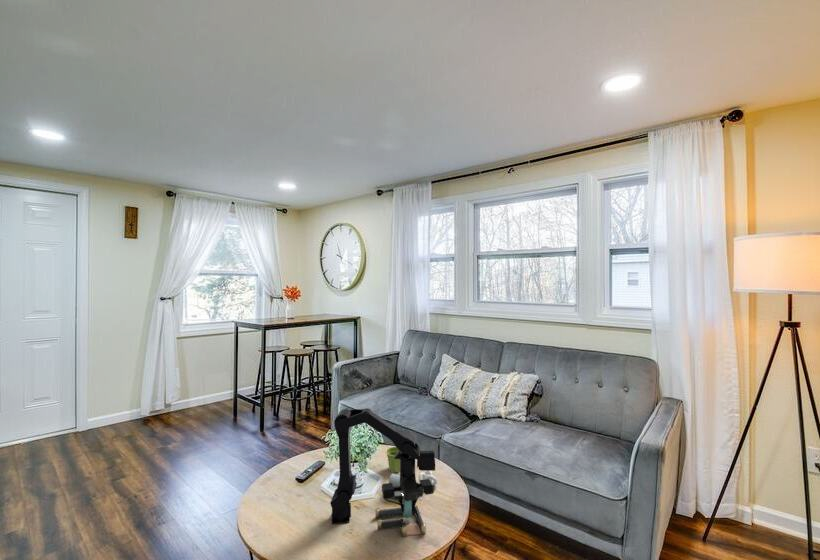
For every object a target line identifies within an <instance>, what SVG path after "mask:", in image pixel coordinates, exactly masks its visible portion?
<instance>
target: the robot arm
mask: <svg viewBox="0 0 820 560" xmlns="http://www.w3.org/2000/svg"><path fill="white" fill-rule="evenodd" d="M364 423H365V424H367V425H369V427H371V428H373V429H374V430H376V431H377V432H378V433H380V434H381V435H383V436H384V437H386V438H387V439H388V440H390V441H391V442H392V443H393V445H394V447H397V448H398V449H399V451H398V452H397V453H395V459H400V472H399V475H400V486H395V487H393V484H392V483H389V482H388V483H387V482H386V483H382V484H381V493H382V495H381V496H382V498H383V499H384V500H388V499H389V500H390V499H393V498H394V500H397V501H398V503H399V506H400V508H401V509H402V513H403V512H404V507H403V496H402V494H401V493H402V492H403V494H404V499H405V501H409V500H412V511H413V510H414V507H415V506H416V504H417V502H418V499H419V498H422V497H423V495H424V494H425V495H433V494H434V493H435V492H434V491H435V489H434V486H433V484H432V482H433V481H432V482H431V480H430V479H424V480H420V483H419V482H417V478H416V467H417V468H418V470H419V471H422V472H424V471H425V472H426V471H432V472H435V471H436V458H435V457H436V456H435V455H436V454H435V450H421V447H420V446H419V444H418V443H417V442H416V438H415V435H414V434H413V433H411V432H409V431H407V430H404V429H400V428H397V427H395V426H394V425H392V424H391V423H390V422H388V421H387V420H385V419H384V418H382V417H381V416H379V415H377V413H375V412H373V411H372V410H371V409H370V408H361V409H359V408H354V409H348V408H347V409H346V408H345V409H341V410H340V411H339V412H338V414H337V415H336V417H335V419H334V423H333V424H334V428H335V432H336V433H335V434H336V435H337V438H338V457H339V458H338V460H339V461H338V463H339V477H338V483H337V488H336V489H335V490H334V493H333V494H332V497H331V500H330V502H329V504H330V507H331V524H332V525H336V524H337V525H338V524H344V523H345V524H346V523H350V522H351V521H350V520H351V519H350V518H351V516H352V506H351V505H352V504H351V502H350V501H351V499H352V498H353V495H355V491H356V488H357V485H358V483H357V474H353V473H352V464H351V463H352V459H351V458H352V457H351V430H352V427H353V428H354V427H355V426H358V425H361V424H364Z"/></svg>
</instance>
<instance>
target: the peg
mask: <svg viewBox="0 0 820 560" xmlns="http://www.w3.org/2000/svg"><path fill="white" fill-rule="evenodd" d="M402 497H403V507H404V512H403V515H402V517H403V518H405V519H411V518H412V516H413V514H412V500H409V501H405V499H404V496H402Z"/></svg>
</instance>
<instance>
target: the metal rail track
mask: <svg viewBox="0 0 820 560" xmlns="http://www.w3.org/2000/svg"><path fill="white" fill-rule="evenodd" d="M374 514H375V516H374V517H375V519H377V523H376V524H377V525H376V526H377V529H376V530H377V531H379V532H380V531H383V530H390V529H397V528H401V537H402V538H407V536H408V535H407V527H406V526H405V523H404V522H405V521H404V519H403V518H398V519H390V520H383V519H384V518H389V517H399V516H403V513H402V509H401V507H394V508H385V509H380V508H379V507H377V508H375V512H374ZM412 515H415V516H416V518H417V520H416V521H417V522H418V523H417V524H418V526H419V529H420V532H421V535H422V536H425V535H426V533H427V532H426V531H427V530H426V529H427V528H426V526H427V525H426V523H424V521H423V517H422V515H421V513H420V509H419V507H418V505H415V507H414V510H413V511H412ZM382 518H383V519H382Z"/></svg>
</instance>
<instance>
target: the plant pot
mask: <svg viewBox="0 0 820 560" xmlns="http://www.w3.org/2000/svg"><path fill="white" fill-rule="evenodd" d="M398 451H399V449H398V448H397V447H396V446H391V447H389V448H387V449H386V450H385V453H386V455H387V462H388V469H389V471H390V472H391V473H400V459H395V453H397V452H398Z"/></svg>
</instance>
